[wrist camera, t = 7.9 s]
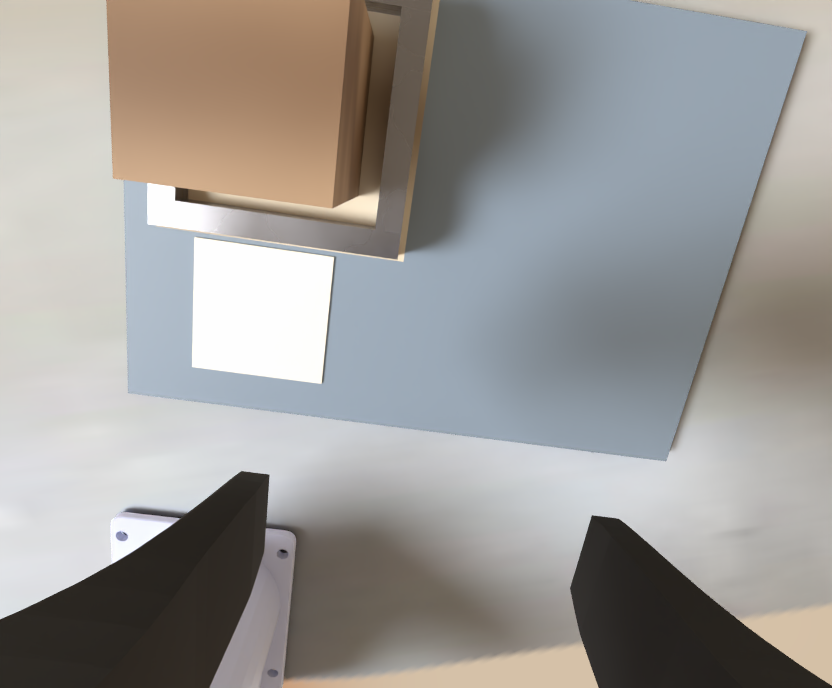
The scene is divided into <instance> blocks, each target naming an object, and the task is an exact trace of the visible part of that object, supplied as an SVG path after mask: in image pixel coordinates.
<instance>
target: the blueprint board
mask: <svg viewBox="0 0 832 688" xmlns="http://www.w3.org/2000/svg"><path fill="white" fill-rule="evenodd" d="M365 4H366V8H367V12H368V15H369V19H370V23H371V27H372V31H373V34H374V44H373V55H372V65H371V75H370V85H369V95H368V105H367V115H366V125H365V136H364V146H363V156H362V166H361V176H360V186H359V196H358V197H356V198H353V199H351V200H349V201H347V202H345V203H343V204H341V205H339V206H337V207H335V208H333V209H332V208H324V207H317V206H310V205H303V204H295V203H288V202H281V201H274V200H266V199H259V198H252V197H244V196H237V195H230V194H223V193H215V192H208V191H201V190H194V189H186V188H179V187H172V186H165V185H157V184H150V183H143V182H135V181H128V180H124V219H125V267H126V314H127V362H128V393H131V394H139V395H147V396H155V397H163V398H170V399H178V400H186V401H194V402H202V403H210V404H218V405H226V406H234V407H242V408H249V409H257V410H265V411H273V412H281V413H289V414H297V415H305V416H313V417H321V418H328V419H336V420H344V421H352V422H360V423H368V424H376V425H384V426H392V427H400V428H407V429H415V430H423V431H431V432H439V433H447V434H455V435H463V436H471V437H479V438H486V439H494V440H502V441H510V442H518V443H526V444H534V445H542V446H550V447H557V448H565V449H573V450H581V451H589V452H597V453H605V454H613V455H621V456H629V457H636V458H644V459H652V460H660V461H666V460H667V457H668V454H669V451H670V448H671V445H672V442H673V439H674V436H675V433H676V430H677V427H678V424H679V421H680V417H681V414H682V411H683V408H684V405H685V402H686V399H687V396H688V393H689V390H690V387H691V384H692V381H693V378H694V375H695V372H696V369H697V366H698V363H699V359H700V356H701V353H702V350H703V347H704V344H705V341H706V338H707V335H708V332H709V329H710V326H711V323H712V320H713V317H714V314H715V311H716V308H717V305H718V301H719V298H720V295H721V292H722V289H723V286H724V283H725V280H726V277H727V274H728V271H729V268H730V265H731V262H732V259H733V256H734V253H735V250H736V247H737V243H738V240H739V237H740V234H741V231H742V228H743V225H744V222H745V219H746V216H747V213H748V210H749V207H750V204H751V201H752V198H753V195H754V192H755V189H756V185H757V182H758V179H759V176H760V173H761V170H762V167H763V164H764V161H765V158H766V155H767V152H768V149H769V146H770V143H771V140H772V137H773V134H774V131H775V127H776V124H777V121H778V118H779V115H780V112H781V109H782V106H783V103H784V100H785V97H786V94H787V91H788V88H789V85H790V82H791V79H792V76H793V73H794V69H795V66H796V63H797V60H798V57H799V54H800V51H801V48H802V45H803V42H804V39H805V36H806V33H807V31H802V30H796V29H791V28H785V27H779V26H774V25H768V24H762V23H756V22H751V21H745V20H739V19H734V18H728V17H722V16H717V15H711V14H705V13H699V12H694V11H688V10H682V9H677V8H671V7H665V6H659V5H654V4H648V3H642V2H637V1H631V0H365Z"/></svg>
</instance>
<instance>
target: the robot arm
mask: <svg viewBox="0 0 832 688" xmlns="http://www.w3.org/2000/svg"><path fill="white" fill-rule="evenodd" d="M268 488H269V475H267V474H259V473H252V472H244V471H241V472H240V473H238V474H237V475H236V476H234V477H233V478H232V479H230V480H229V481H228V482H227V483H225V484H224V485H223V486H222V487H220V488H219V489H218V490H217V491H215V492H214V493H213V494H212V495H210V496H209V497H208V498H207V499H205V500H204V501H203V502H201V503H200V504H199V505H198V506H196V507H195V508H194V509H192V510H191V511H190V512H188V513H187V514H186V515H184V516H183V517H182V518H173V517H164V516H156V515H147V514H138V513H129V512H121V513H118V514H117V515H116V516H115V517H114V518H113V520H112V521H111V524H110V526H111V555H112V564H111V565H109V566H108V567H106V568H104V569H102V570H100V571H99V572H97V573H95V574H93V575H92V576H90V577H88V578H86V579H84V580H82V581H81V582H79V583H77V584H75V585H73V586H71V587H69V588H66V589H64V590H62V591H60V592H58V593H56V594H54V595H52V596H50V597H48V598H46V599H44V600H42V601H40V602H38V603H36V604H34V605H31V606H29V607H27V608H25V609H23V610H21V611H19V612H16V613H14V614H12V615H9V616H7V617H5V618H2V619H0V688H282V686H283V680H284V669H285V659H286V648H287V637H288V626H289V615H290V604H291V593H292V583H293V572H294V561H295V550H296V537H295V535H294V534H293V533H291V532H290V531H286V530H278V529H269V528H266V519H267V503H268ZM121 531H123V532H125V533H126V534H127V535H124V534H122V533H121ZM281 549H284V550H286V551H287V552H288V553H282V552H281V551H280V550H281ZM570 589H571V594H572V599H573V604H574V609H575V614H576V618H577V623H578V627H579V631H580V635H581V638H582V641H583V644H584V647H585V649H586V652H587V655H588V658H589V661H590V664H591V667H592V670H593V673H594V676H595V678H596V681H597V684H598V687H599V688H832V686H831V685H830V684H828V683H826V682H825V681H823V680H822V679H820V678H819V677H817V676H816V675H814V674H813V673H811V672H810V671H808V670H807V669H805V668H804V667H802V666H801V665H799V664H798V663H796V662H795V661H793V660H792V659H791V658H789V657H788V656H786V655H785V654H784V653H782V652H781V651H779V650H778V649H777V648H775V647H774V646H772V645H771V644H769V643H768V642H766V641H765V640H764V639H762V638H761V637H760V636H758V635H757V634H756V633H754V632H753V631H752V630H750V629H749V628H748V627H746V626H745V625H744V624H743V623H741V622H740V621H739V620H738V619H736V618H735V617H734V616H733V615H731V614H730V613H729V612H728V611H726V610H725V609H724V608H723V607H721V606H720V605H719V604H718V603H716V602H715V601H714V600H713V599H711V598H710V597H709V596H708V595H707V594H705V593H704V592H703V591H702V590H701V589H700V588H698V587H697V586H696V585H695V584H694V583H693V582H691V581H690V580H689V579H688V578H687V577H686V576H684V575H683V574H682V573H681V572H680V571H679V570H678V569H676V568H675V567H674V566H673V565H672V564H671V563H670V562H669V561H667V560H666V559H665V558H664V557H663V556H662V555H661V554H660V553H658V552H657V551H656V550H655V549H654V548H653V547H652V546H651V545H649V544H648V543H647V542H646V541H645V540H644V539H643V538H641V537H640V536H639V535H638V534H637V533H636V532H635V531H633V530H632V529H631V528H630V527H629V526H627V525H626V524H625V523H624V522H622V521H621V520H620V519H616V518H608V517H601V516H593V515H592V517H591V521H590V524H589V527H588V531H587V534H586V537H585V541H584V544H583V547H582V551H581V554H580V557H579V561H578V564H577V567H576V571H575V574H574V577H573V581H572V584H571V587H570ZM272 669H275V670H272Z"/></svg>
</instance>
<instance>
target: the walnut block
mask: <svg viewBox="0 0 832 688" xmlns="http://www.w3.org/2000/svg"><path fill="white" fill-rule="evenodd" d="M106 2H107V29H108V56H109V83H110V110H111V137H112V164H113V178H114V179H121V180H128V181H135V182H143V183H150V184H157V185H165V186H172V187H179V188H186V189H194V190H201V191H208V192H215V193H223V194H230V195H237V196H244V197H252V198H259V199H266V200H274V201H281V202H288V203H295V204H303V205H310V206H317V207H324V208H332V209H333V208H335V207H337V206H339V205H341V204H343V203H345V202H347V201H349V200H351V199H353V198H356V197H358V196H359V186H360V176H361V166H362V156H363V146H364V136H365V125H366V115H367V105H368V95H369V85H370V75H371V65H372V55H373V44H374V34H373V31H372V27H371V23H370V19H369V15H368V12H367V8H366V4H365V0H106Z"/></svg>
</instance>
